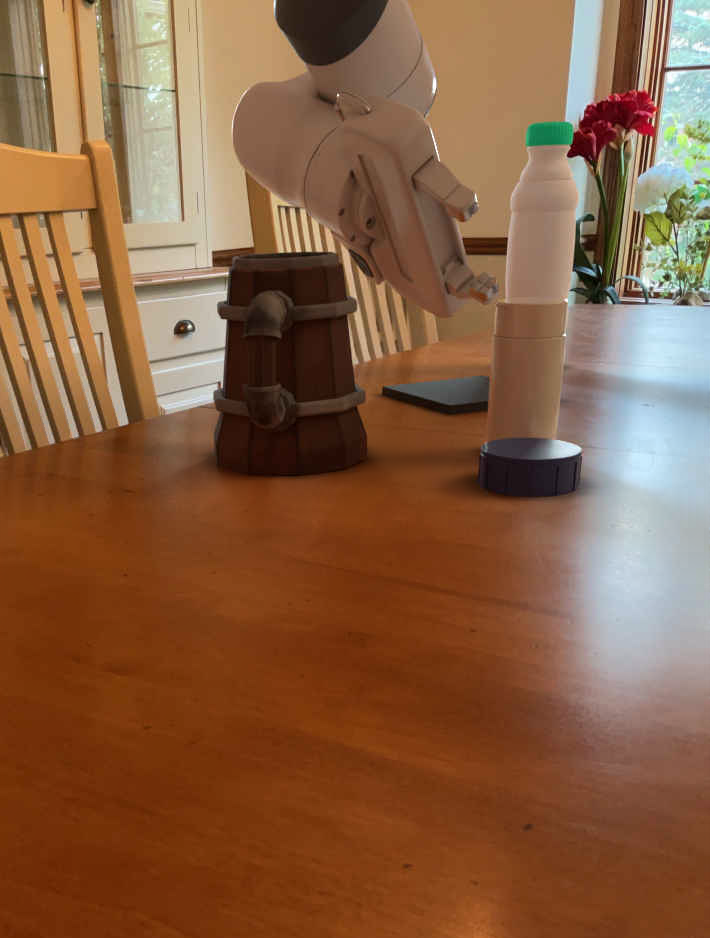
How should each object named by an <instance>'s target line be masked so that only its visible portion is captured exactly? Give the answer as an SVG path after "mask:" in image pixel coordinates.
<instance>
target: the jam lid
mask: <svg viewBox="0 0 710 938" xmlns="http://www.w3.org/2000/svg"><path fill="white" fill-rule="evenodd" d="M582 452H583V451H582V448H581V446H579V445H577V444H575V443H572V442H569V441H565V440H560V439H557V440H554V439H545V438H507V439H499V440H494V441H490V442H487V443H486V442H485V443H483V444H482V445H481V447H480V454H479V456H478V457H479V459H478V472H477V473H478V475H477V483H478V484H479V486H480V487H481V488H482V489H484V490H487V491H489V492H492V493H495V494H499V495H505V496H511V497H512V496H513V497H522V498H523V497H524V498H545V497H547V498H549V497H557V496H564V495H567V494H570V493H573V492H575V491H577V490H578V488H579V486H580V481H581V474H582V473H581V472H582V463H583V462H582V461H583V456H582V454H583V453H582Z"/></svg>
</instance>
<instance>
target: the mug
mask: <svg viewBox="0 0 710 938" xmlns="http://www.w3.org/2000/svg"><path fill="white" fill-rule="evenodd" d="M231 265H232V266H231ZM231 265H230V266H229V267H228V277H227V290H226V300H221V301H218V302H217V304H216V311H217V314H218V316H219V318H220V320H226V323H225V324H226V325H225V342H224V346H225V347H224V357H223V358H224V360H223V375H222V376H223V377H222V388H218V389H214V391H213V393H212V395H213V397H212V398H213V403H214V406H215V407H214V408H215V410H216V412H219V415H218V417H217V421H216V425H215V428H214V431H213V446H214V447H213V448H214V449H213V451H214V458H215V463H216V467H218V468H222V469H226V470H229V471H234V472H238V473H242V474H246V475H252V476H288V477H289V476H294V477H301V476H306V475H307V476H308V475H315V474H322V473H330V472H335V471H341V470H342V471H343V470H345V469H347V468H349V467H351V466H354V465H355V464H357V463H359V462H361V461H363V460H365V459H367V458H368V433H367V431H366V428H365V425H364V423H363V420H362V417H361V414H360V411H359V408H358V406H360V405H362V404H365V402H366V400H367V398H366V391H365V389H363V388H362V387H361V386H360V385H359V384H358V383H357V382H356V381H355V372H354V364H353V355H352V354H353V353H352V346H351V335H350V327H349V326H350V325H349V317H348V315H349V314H354V313H357V311H358V300H357V299H356V298H355V297H353V296H350V295H349V294H347V288H346V279H345V271H344V265H343V263H342V262H340V255H339V254H338V253H336V252H335V251H287V252H286V251H285V252H269V253H268V252H267V253H254V254H245V255H244V254H243V255H237V256H233V257H232V259H231Z"/></svg>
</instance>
